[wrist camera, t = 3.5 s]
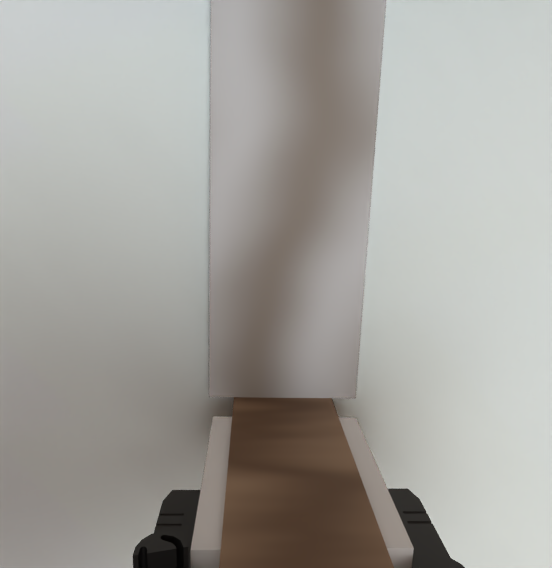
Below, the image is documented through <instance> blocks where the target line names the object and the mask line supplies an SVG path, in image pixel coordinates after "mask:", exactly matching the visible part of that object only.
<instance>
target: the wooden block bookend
mask: <svg viewBox="0 0 552 568" xmlns="http://www.w3.org/2000/svg"><path fill="white" fill-rule="evenodd" d="M385 11H386V0H211V79H210V301H209V397H234V401H233V413H232V424H231V436H230V447H229V459H228V470H227V482H226V493H225V505H224V516H223V528H222V539H221V551H220V562H219V568H394V566H393V563H392V561H391V558H390V555H389V553H388V550H387V547H386V544H385V542H384V539H383V536H382V534H381V531H380V528H379V526H378V523H377V520H376V517H375V515H374V512H373V509H372V507H371V504H370V501H369V498H368V496H367V493H366V490H365V488H364V485H363V482H362V479H361V477H360V474H359V471H358V469H357V466H356V463H355V460H354V458H353V455H352V452H351V450H350V447H349V444H348V441H347V439H346V436H345V433H344V431H343V428H342V425H341V422H340V420H339V417H338V414H337V412H336V409H335V406H334V404H333V401H332V398H356V387H357V374H358V361H359V348H360V335H361V322H362V309H363V296H364V283H365V270H366V257H367V244H368V231H369V218H370V205H371V192H372V179H373V166H374V153H375V140H376V127H377V114H378V101H379V88H380V76H381V63H382V50H383V37H384V24H385Z"/></svg>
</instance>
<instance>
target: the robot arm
mask: <svg viewBox="0 0 552 568" xmlns="http://www.w3.org/2000/svg"><path fill="white" fill-rule="evenodd" d="M339 420H340V422H341V425H342V428H343V431H344V433H345V436H346V439H347V441H348V444H349V447H350V450H351V452H352V455H353V458H354V460H355V463H356V466H357V469H358V471H359V474H360V477H361V479H362V482H363V485H364V488H365V490H366V493H367V496H368V498H369V501H370V504H371V507H372V509H373V512H374V515H375V517H376V520H377V523H378V526H379V528H380V531H381V534H382V536H383V539H384V542H385V544H386V547H387V550H388V553H389V555H390V558H391V561H392V563H393V566H394V568H465V567H463V566H462V565H461V564H460V563H458V562H456V561H455V560H453V559H451V558H450V556H449V554H448V552H447V550H446V548H445V547H444V545H443V543H442V541H441V539H440V537H439V535H438V533H437V531H436V530H435V528H434V526H433V524H431V520H430V518H429V516H428V514H426V511H425V509H424V507H423V505H422V503H421V501H420V499H419V498H418V497H416V496H415V495H414V494H413V493H412V492H411V491H410V490H409V489H387V487H386V484H385V482H384V480H383V477H382V475H381V473H380V471H379V468H378V466H377V464H376V462H375V459H374V457H373V455H372V453H371V450H370V448H369V446H368V444H367V441H366V439H365V437H364V435H363V432H362V430H361V428H360V426H359V423H358V421H357V419H356V418H350V417H339ZM231 424H232V417H217V416H213V419H212V425H211V431H210V437H209V443H208V449H207V455H206V461H205V467H204V473H203V479H202V485H201V490H172V491H171V492H170V494H169V495H168V496H167V497H166V498H165V499H164V500H163V502H162V506H161V510H160V513H159V517H158V520H157V524H156V527H155V531H154V534H151V535H149V536H147V537H146V538H144V539H143V540H141V541H140V543H139V544H138V545H137V546H136V547H135V551H134V554H133V568H219V562H220V551H221V539H222V528H223V516H224V505H225V493H226V482H227V470H228V459H229V447H230V436H231Z"/></svg>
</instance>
